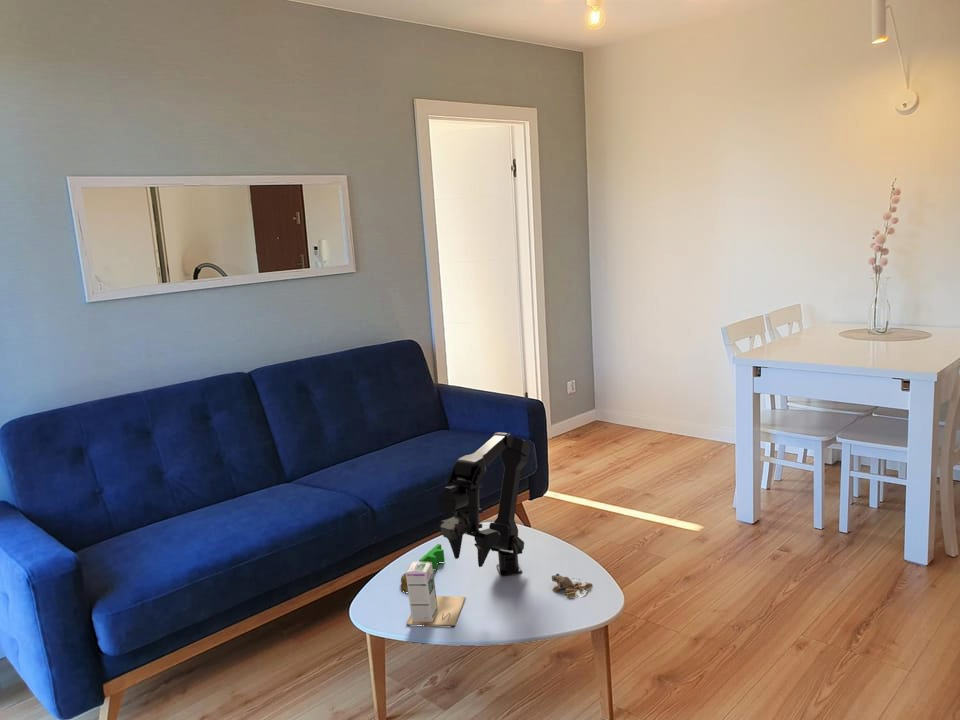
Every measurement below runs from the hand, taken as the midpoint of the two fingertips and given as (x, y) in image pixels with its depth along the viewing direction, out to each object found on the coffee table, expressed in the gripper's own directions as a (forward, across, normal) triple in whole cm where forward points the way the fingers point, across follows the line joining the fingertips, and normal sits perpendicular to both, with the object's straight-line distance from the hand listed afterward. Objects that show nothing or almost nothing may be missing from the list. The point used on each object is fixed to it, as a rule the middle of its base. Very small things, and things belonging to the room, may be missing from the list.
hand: (468, 562), depth 200 cm
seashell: (+12, -21, -1) cm, 24 cm away
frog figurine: (+10, +16, +23) cm, 30 cm away
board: (+13, -5, -7) cm, 16 cm away
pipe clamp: (+10, -25, +10) cm, 29 cm away
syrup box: (+13, -5, -11) cm, 18 cm away
